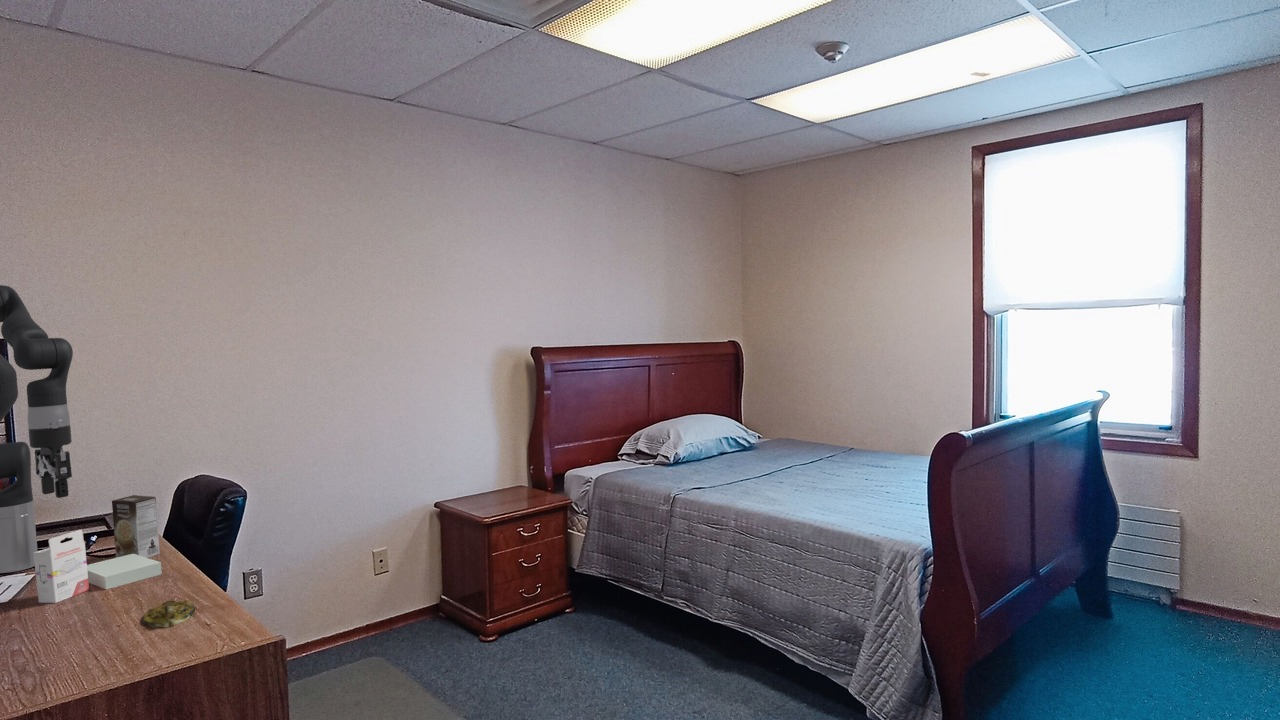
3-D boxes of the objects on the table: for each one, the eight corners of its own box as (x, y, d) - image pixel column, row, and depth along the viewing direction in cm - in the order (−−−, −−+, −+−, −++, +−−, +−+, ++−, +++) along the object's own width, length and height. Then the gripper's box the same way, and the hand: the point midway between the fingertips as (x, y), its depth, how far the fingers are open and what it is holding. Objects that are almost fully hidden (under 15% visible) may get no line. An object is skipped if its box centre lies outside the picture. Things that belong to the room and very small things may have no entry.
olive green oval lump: (142, 617, 159) (147, 638, 147) (137, 597, 159) (142, 615, 147) (191, 601, 165) (200, 620, 153) (187, 581, 164) (196, 598, 152)
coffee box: (114, 559, 200) (109, 500, 200) (137, 551, 206) (132, 494, 206) (139, 561, 197) (134, 501, 196) (161, 553, 203) (157, 495, 203)
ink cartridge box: (72, 589, 176) (67, 528, 176) (90, 590, 175) (84, 528, 175) (36, 603, 168) (31, 539, 167) (54, 603, 167) (49, 539, 166)
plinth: (79, 578, 184) (78, 567, 184) (134, 564, 194) (133, 553, 194) (106, 589, 175) (105, 577, 175) (161, 574, 185) (160, 562, 185)
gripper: (18, 426, 171) (24, 496, 171) (40, 428, 163) (46, 501, 163) (57, 422, 177) (63, 489, 178) (81, 424, 169) (86, 494, 169)
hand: (55, 495), depth 170 cm, fingers open, 8 cm apart
